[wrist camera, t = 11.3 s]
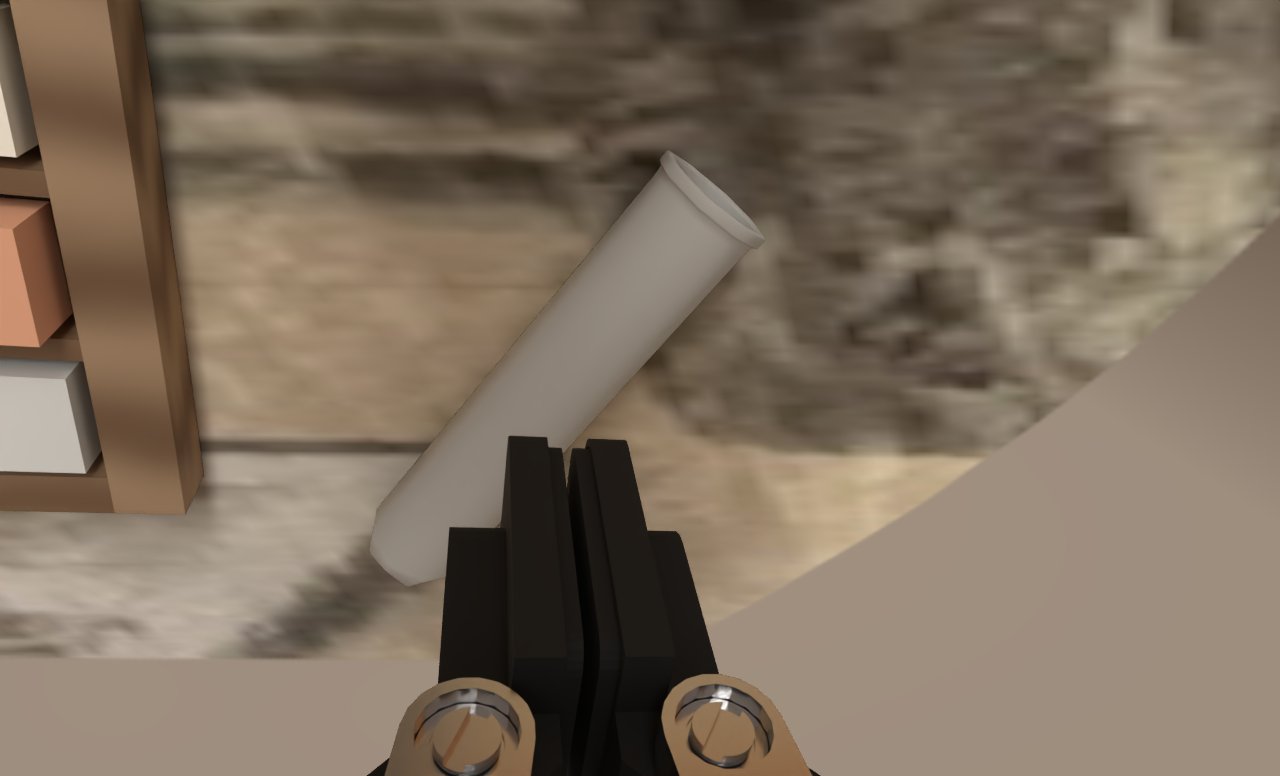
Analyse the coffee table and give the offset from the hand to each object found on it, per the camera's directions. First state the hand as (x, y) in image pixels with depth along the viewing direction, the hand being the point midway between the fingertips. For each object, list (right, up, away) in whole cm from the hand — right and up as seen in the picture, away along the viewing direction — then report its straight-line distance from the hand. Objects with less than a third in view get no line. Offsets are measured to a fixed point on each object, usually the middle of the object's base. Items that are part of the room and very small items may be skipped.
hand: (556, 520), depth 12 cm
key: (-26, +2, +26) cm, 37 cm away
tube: (-4, +3, +30) cm, 31 cm away
